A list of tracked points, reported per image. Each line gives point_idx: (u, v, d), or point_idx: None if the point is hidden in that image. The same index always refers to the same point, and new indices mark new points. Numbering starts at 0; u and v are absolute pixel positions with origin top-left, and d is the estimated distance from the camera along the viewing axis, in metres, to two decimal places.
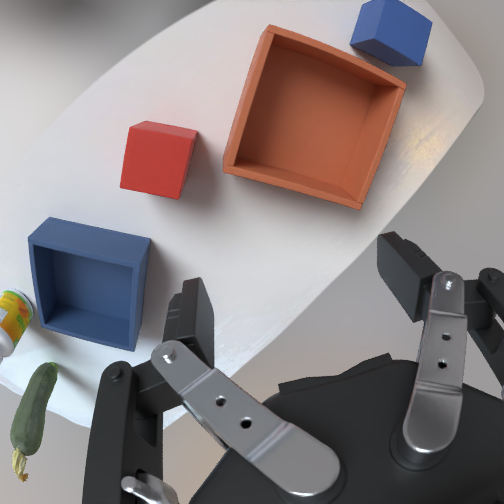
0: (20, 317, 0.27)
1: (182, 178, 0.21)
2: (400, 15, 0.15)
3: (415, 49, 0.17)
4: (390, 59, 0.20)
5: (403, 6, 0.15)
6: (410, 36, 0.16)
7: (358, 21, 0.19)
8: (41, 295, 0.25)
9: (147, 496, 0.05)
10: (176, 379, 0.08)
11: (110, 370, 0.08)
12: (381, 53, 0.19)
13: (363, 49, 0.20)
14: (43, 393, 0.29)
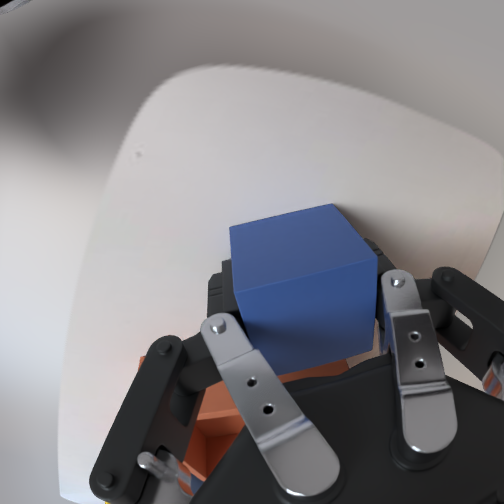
0: None
1: None
2: (291, 313, 0.10)
3: (352, 339, 0.11)
4: None
5: (288, 289, 0.09)
6: (332, 330, 0.10)
7: None
8: None
9: (160, 474, 0.06)
10: (231, 348, 0.09)
11: (160, 343, 0.09)
12: None
13: None
14: None
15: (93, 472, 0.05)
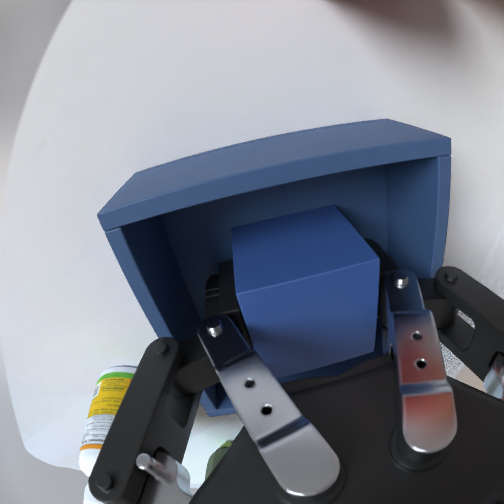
0: None
1: None
2: (294, 314, 0.10)
3: (354, 340, 0.11)
4: None
5: (291, 291, 0.09)
6: (334, 331, 0.10)
7: None
8: None
9: (159, 475, 0.06)
10: (227, 349, 0.09)
11: (157, 345, 0.09)
12: None
13: None
14: None
15: (92, 474, 0.05)
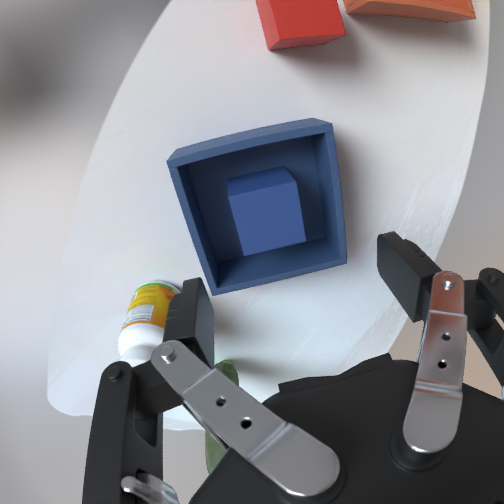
0: None
1: (339, 13, 0.15)
2: (256, 210, 0.20)
3: (291, 230, 0.21)
4: None
5: (253, 196, 0.20)
6: (279, 223, 0.21)
7: None
8: (203, 244, 0.23)
9: (147, 496, 0.05)
10: (176, 379, 0.08)
11: (110, 370, 0.08)
12: None
13: None
14: None
15: None
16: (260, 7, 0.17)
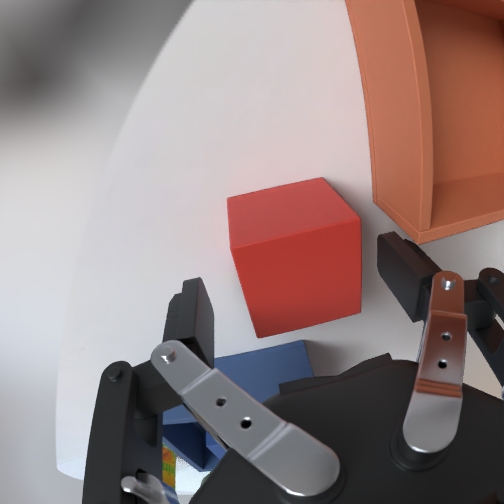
0: (165, 465, 0.24)
1: (360, 283, 0.12)
2: None
3: None
4: None
5: None
6: None
7: None
8: (187, 451, 0.20)
9: (147, 496, 0.05)
10: (176, 379, 0.08)
11: (110, 370, 0.08)
12: None
13: None
14: None
15: None
16: None
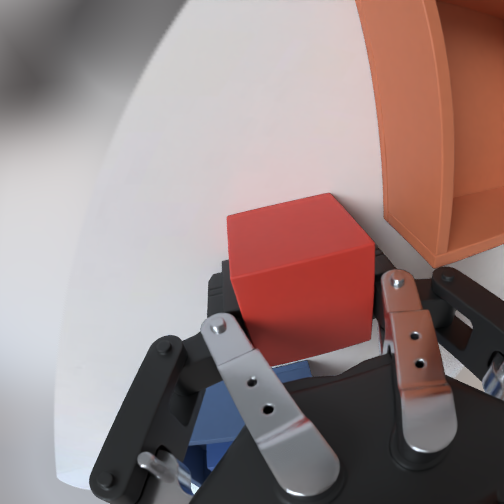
0: None
1: (371, 311, 0.10)
2: None
3: None
4: None
5: None
6: None
7: None
8: None
9: (160, 474, 0.06)
10: (231, 347, 0.09)
11: (160, 343, 0.09)
12: None
13: None
14: None
15: (93, 471, 0.05)
16: None
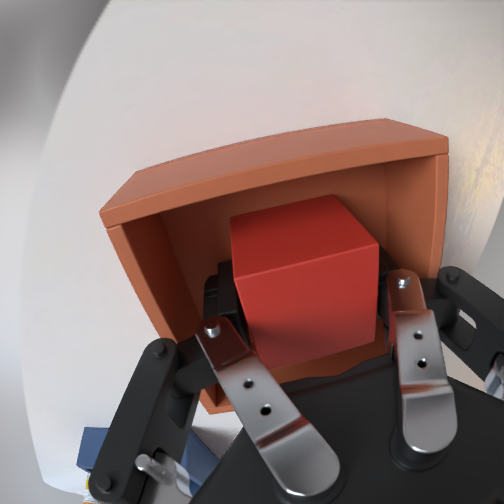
0: None
1: (375, 312, 0.10)
2: None
3: None
4: None
5: None
6: None
7: None
8: None
9: (158, 476, 0.06)
10: (225, 350, 0.09)
11: (154, 345, 0.09)
12: None
13: None
14: None
15: (91, 476, 0.05)
16: None
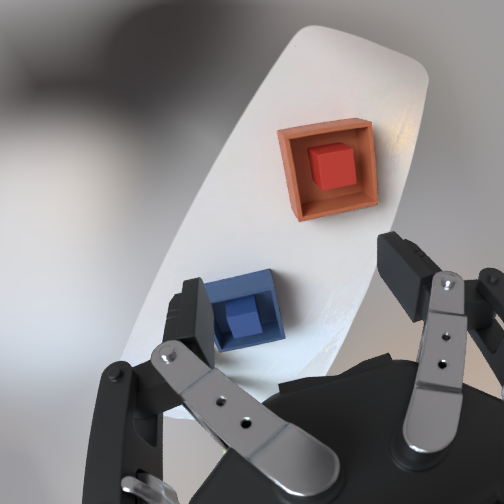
0: None
1: (355, 171, 0.35)
2: (239, 322, 0.45)
3: (255, 328, 0.46)
4: None
5: (237, 317, 0.44)
6: (249, 326, 0.45)
7: None
8: (215, 332, 0.47)
9: (147, 496, 0.05)
10: (176, 379, 0.08)
11: (110, 370, 0.08)
12: None
13: None
14: None
15: None
16: (311, 157, 0.37)
